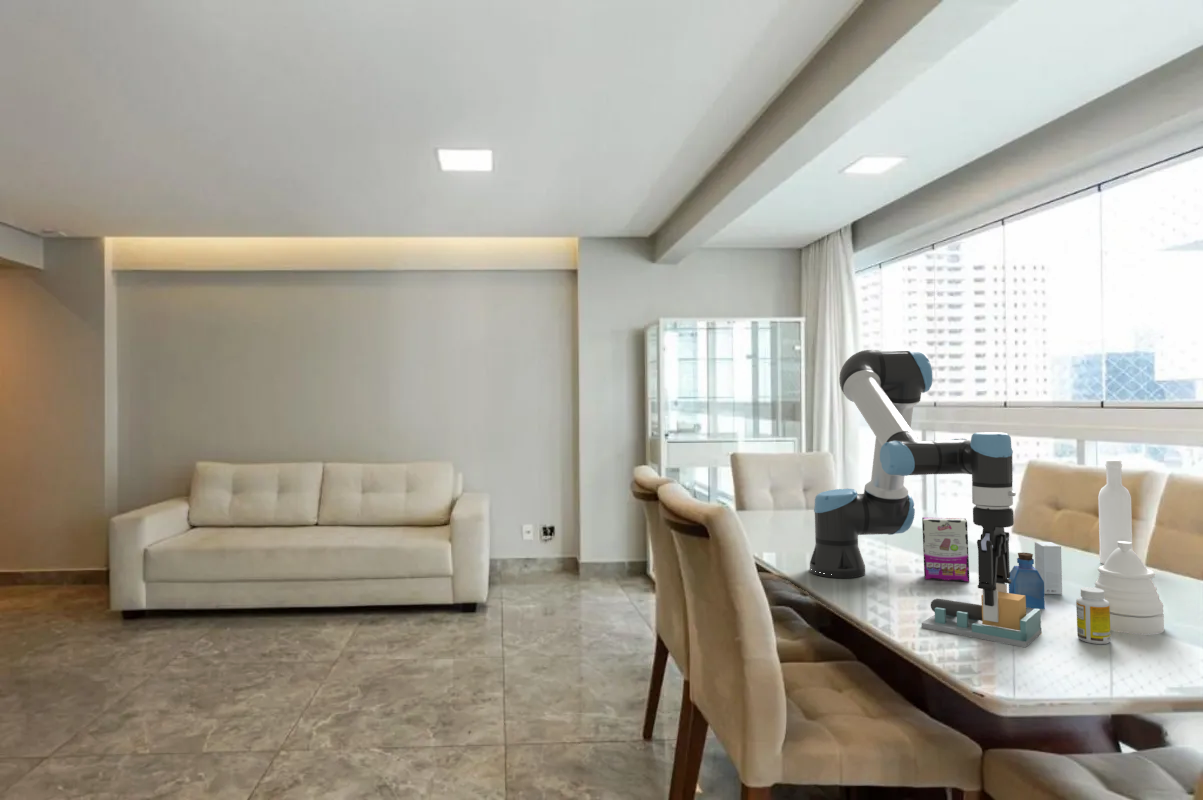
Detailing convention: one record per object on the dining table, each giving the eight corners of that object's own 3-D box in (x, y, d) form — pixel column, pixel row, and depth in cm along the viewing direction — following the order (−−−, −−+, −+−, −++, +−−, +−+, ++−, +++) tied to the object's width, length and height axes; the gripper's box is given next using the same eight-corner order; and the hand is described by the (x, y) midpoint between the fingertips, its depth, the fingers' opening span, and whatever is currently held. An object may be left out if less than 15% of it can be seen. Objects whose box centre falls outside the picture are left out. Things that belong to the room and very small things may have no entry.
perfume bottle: (1038, 602, 175) (1037, 551, 175) (1044, 609, 170) (1043, 557, 170) (1009, 600, 177) (1007, 550, 177) (1014, 607, 172) (1013, 556, 172)
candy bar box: (968, 578, 200) (966, 517, 200) (969, 582, 195) (968, 520, 195) (923, 575, 204) (921, 516, 204) (923, 579, 199) (922, 519, 199)
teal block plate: (921, 627, 158) (920, 604, 158) (941, 615, 167) (941, 593, 167) (1025, 647, 144) (1024, 621, 144) (1041, 632, 153) (1041, 608, 153)
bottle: (1132, 562, 213) (1129, 459, 213) (1134, 568, 206) (1131, 461, 206) (1099, 560, 217) (1096, 458, 217) (1100, 565, 211) (1097, 460, 211)
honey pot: (1167, 638, 148) (1165, 548, 148) (1091, 629, 155) (1089, 543, 155) (1160, 621, 159) (1158, 538, 159) (1089, 613, 166) (1087, 533, 166)
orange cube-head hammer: (927, 614, 161) (926, 587, 161) (935, 609, 164) (934, 582, 164) (1019, 630, 148) (1018, 600, 148) (1026, 624, 152) (1025, 595, 152)
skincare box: (1063, 594, 181) (1061, 546, 181) (1044, 594, 182) (1042, 546, 182) (1053, 588, 187) (1051, 541, 187) (1034, 588, 188) (1033, 541, 188)
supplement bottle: (1116, 641, 146) (1114, 590, 146) (1102, 647, 143) (1101, 594, 143) (1085, 634, 151) (1084, 584, 151) (1071, 639, 148) (1070, 588, 148)
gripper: (998, 513, 144) (1002, 631, 144) (1025, 502, 157) (1027, 610, 157) (958, 510, 149) (961, 624, 149) (987, 500, 163) (989, 604, 163)
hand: (995, 617), depth 153 cm, fingers open, 5 cm apart
